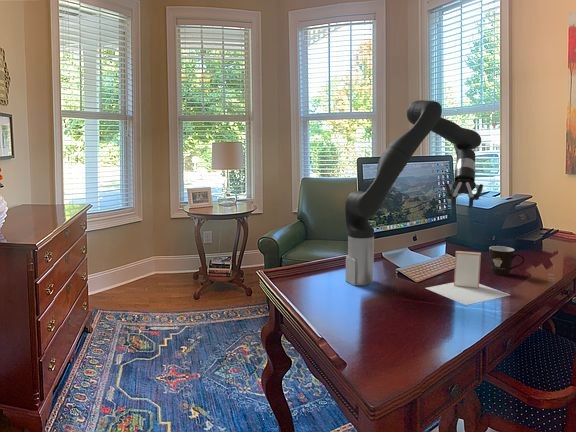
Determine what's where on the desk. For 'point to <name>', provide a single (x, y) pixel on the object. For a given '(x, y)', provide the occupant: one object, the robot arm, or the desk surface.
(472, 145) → the robot arm
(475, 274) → the beige rectangular box
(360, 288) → the desk surface
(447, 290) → the mat
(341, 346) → the desk surface
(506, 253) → the coffee mug
